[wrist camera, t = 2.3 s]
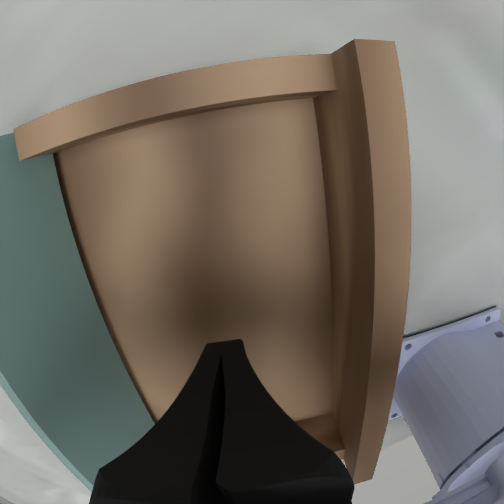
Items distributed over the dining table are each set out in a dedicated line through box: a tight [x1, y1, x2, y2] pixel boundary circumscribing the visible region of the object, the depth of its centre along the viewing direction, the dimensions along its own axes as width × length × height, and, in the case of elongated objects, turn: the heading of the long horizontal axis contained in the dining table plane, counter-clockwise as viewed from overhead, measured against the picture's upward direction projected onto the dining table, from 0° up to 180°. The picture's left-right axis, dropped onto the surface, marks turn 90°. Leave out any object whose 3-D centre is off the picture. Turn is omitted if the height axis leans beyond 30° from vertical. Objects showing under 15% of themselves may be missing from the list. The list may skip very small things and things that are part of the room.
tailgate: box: [0, 133, 155, 491], centre depth 12 cm, size 1×20×6 cm, turn 8°
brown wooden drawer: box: [14, 39, 411, 484], centre depth 13 cm, size 13×20×6 cm, turn 9°
